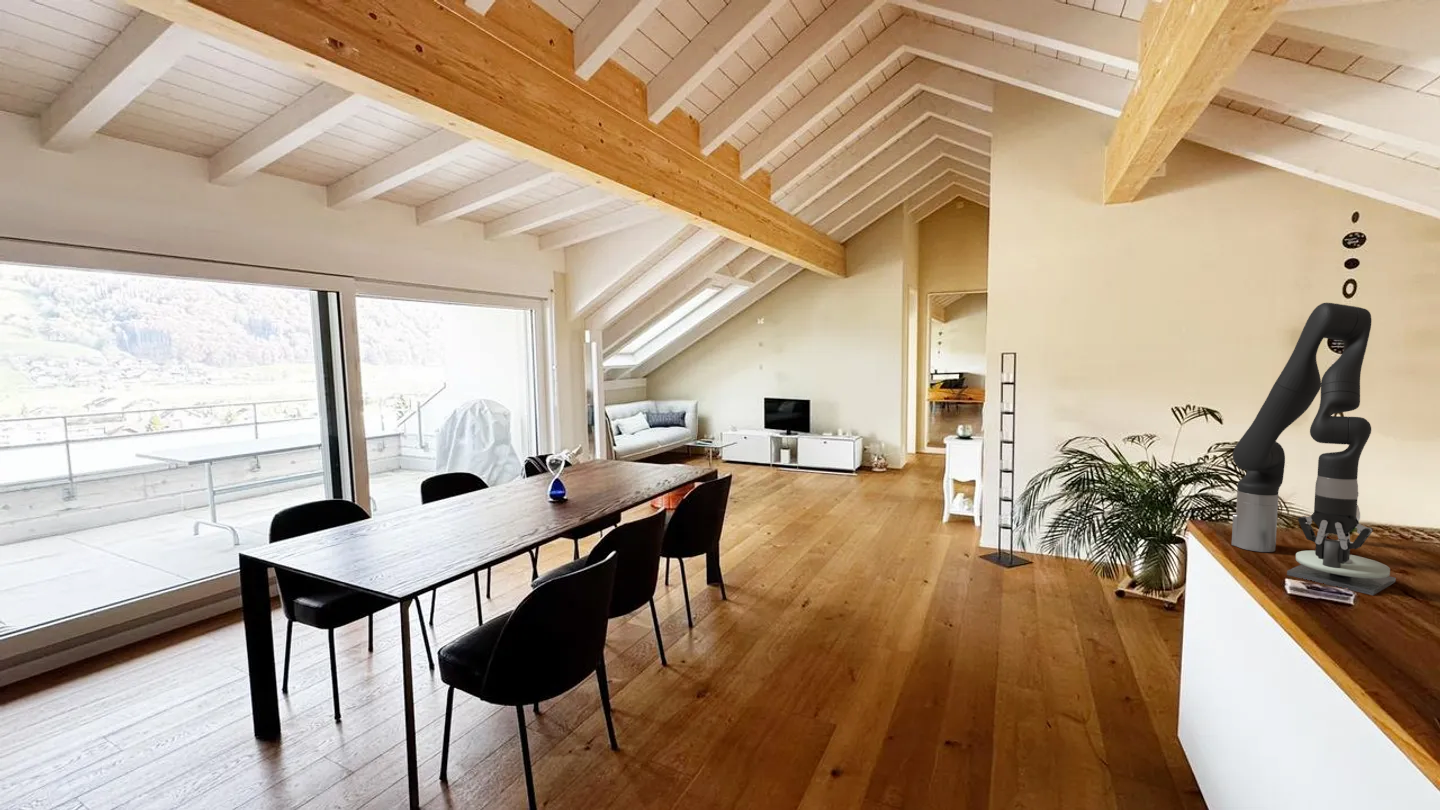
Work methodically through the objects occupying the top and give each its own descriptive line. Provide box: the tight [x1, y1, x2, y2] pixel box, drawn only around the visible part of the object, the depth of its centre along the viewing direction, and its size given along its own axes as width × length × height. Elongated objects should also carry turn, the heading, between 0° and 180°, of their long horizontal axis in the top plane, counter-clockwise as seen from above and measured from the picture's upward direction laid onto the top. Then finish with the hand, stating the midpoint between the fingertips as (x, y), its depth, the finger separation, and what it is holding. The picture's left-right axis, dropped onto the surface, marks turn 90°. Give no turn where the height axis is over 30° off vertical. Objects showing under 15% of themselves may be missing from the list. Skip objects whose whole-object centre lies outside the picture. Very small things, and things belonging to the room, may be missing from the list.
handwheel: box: [1295, 538, 1391, 578], centre depth 155 cm, size 17×17×8 cm
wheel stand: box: [1286, 564, 1396, 596], centre depth 156 cm, size 16×16×3 cm
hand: (1331, 560), depth 152 cm, fingers closed on handwheel, 3 cm apart
